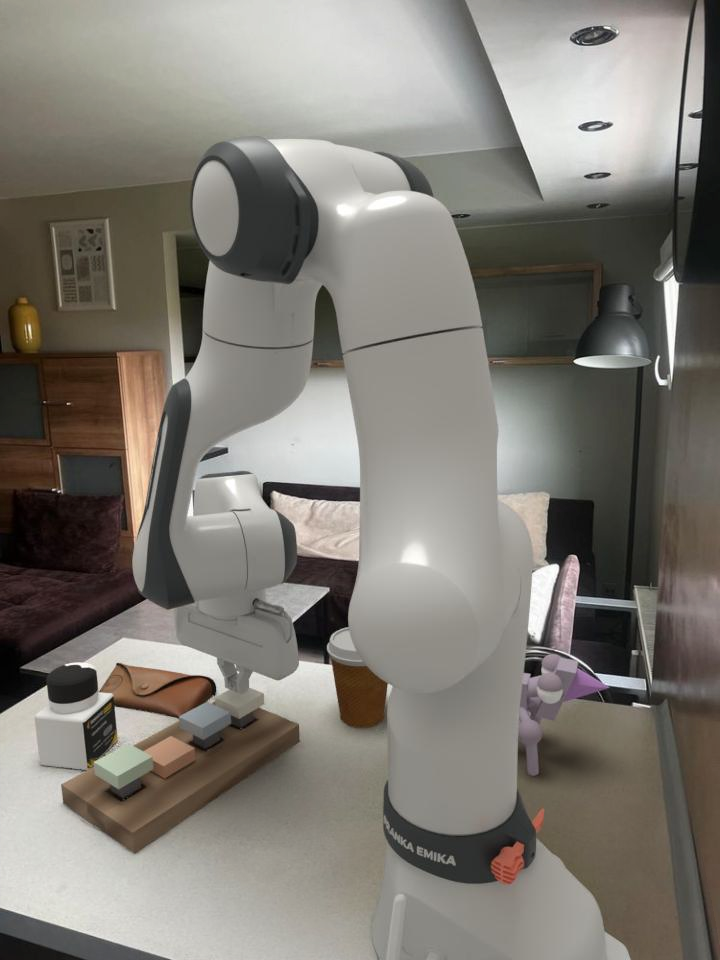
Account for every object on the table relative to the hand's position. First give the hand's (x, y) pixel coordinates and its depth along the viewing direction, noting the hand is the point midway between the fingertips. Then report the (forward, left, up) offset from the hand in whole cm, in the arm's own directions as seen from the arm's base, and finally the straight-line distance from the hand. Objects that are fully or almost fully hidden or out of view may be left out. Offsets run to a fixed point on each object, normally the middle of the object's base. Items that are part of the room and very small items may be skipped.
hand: (237, 689), depth 94 cm
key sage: (0, +18, -5) cm, 18 cm away
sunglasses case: (+19, 0, -8) cm, 21 cm away
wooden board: (0, +9, -7) cm, 11 cm away
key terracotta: (0, +12, -7) cm, 14 cm away
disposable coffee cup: (-10, -14, -7) cm, 19 cm away
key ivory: (0, 0, -5) cm, 5 cm away
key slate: (0, +6, -5) cm, 7 cm away
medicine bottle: (+15, +15, -7) cm, 22 cm away
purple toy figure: (-33, -19, -7) cm, 39 cm away
